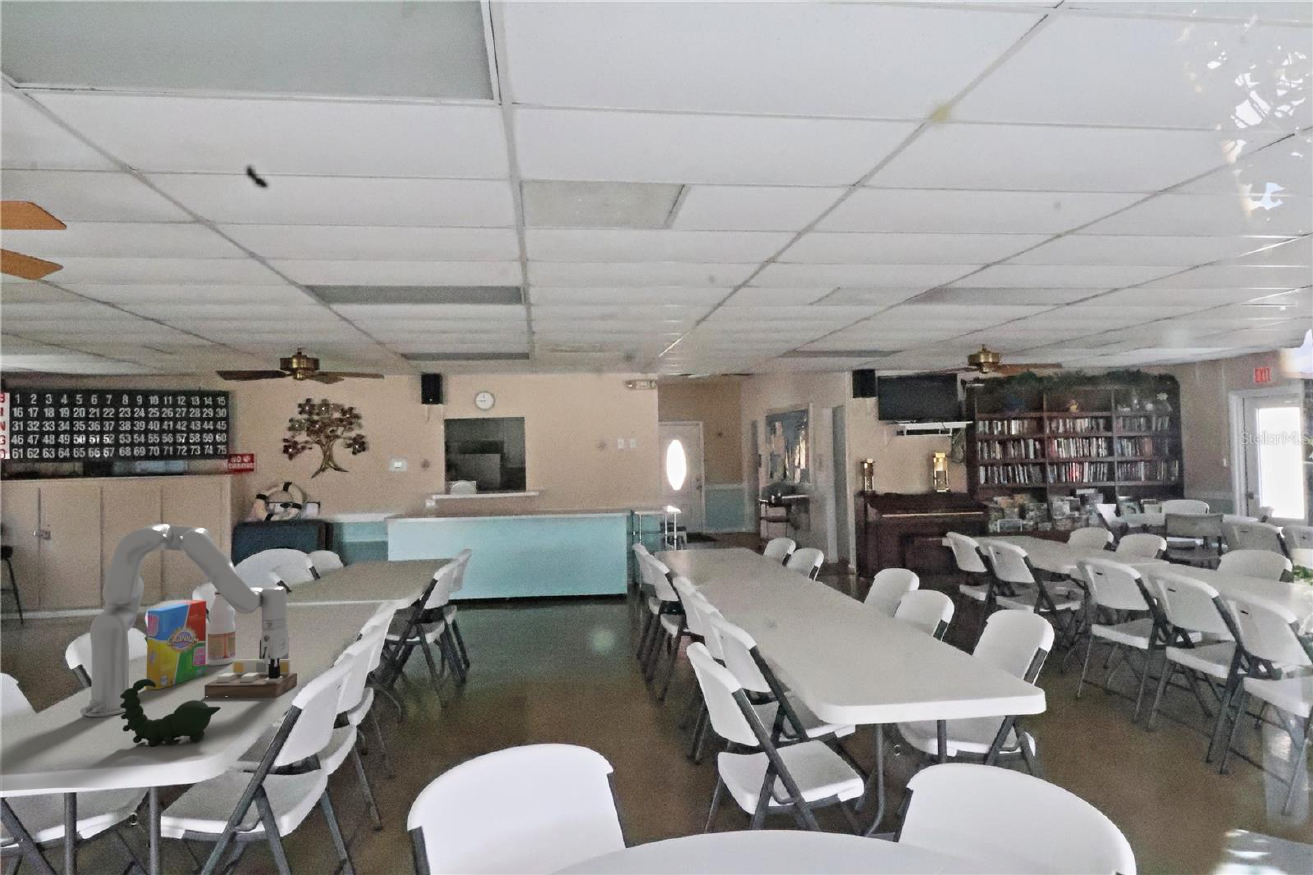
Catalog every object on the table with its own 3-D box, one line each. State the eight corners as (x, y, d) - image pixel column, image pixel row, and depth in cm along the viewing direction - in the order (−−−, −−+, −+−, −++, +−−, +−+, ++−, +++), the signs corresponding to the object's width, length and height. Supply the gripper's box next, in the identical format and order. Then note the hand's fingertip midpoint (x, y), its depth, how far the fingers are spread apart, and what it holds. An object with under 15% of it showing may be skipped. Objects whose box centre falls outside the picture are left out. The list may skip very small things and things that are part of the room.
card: (289, 674, 261) (289, 659, 261) (232, 674, 261) (232, 660, 262) (290, 673, 262) (290, 659, 262) (233, 674, 262) (233, 659, 262)
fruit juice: (209, 667, 287) (210, 593, 288) (205, 662, 294) (206, 590, 295) (237, 663, 293) (238, 590, 294) (232, 658, 300) (233, 588, 301)
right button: (276, 686, 253) (276, 679, 253) (264, 686, 253) (264, 679, 253) (282, 683, 257) (282, 676, 257) (270, 683, 257) (270, 676, 257)
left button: (229, 683, 253) (229, 676, 253) (217, 683, 253) (217, 676, 253) (236, 680, 257) (236, 673, 257) (224, 680, 257) (224, 673, 257)
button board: (275, 697, 248) (275, 684, 249) (204, 697, 249) (204, 685, 249) (297, 684, 262) (297, 673, 263) (229, 685, 263) (229, 673, 263)
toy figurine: (117, 757, 203) (215, 743, 205) (111, 687, 203) (208, 674, 206) (137, 744, 212) (230, 731, 215) (131, 677, 212) (224, 665, 215)
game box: (158, 690, 258) (159, 610, 259) (145, 689, 259) (146, 610, 260) (206, 673, 278) (206, 600, 279) (193, 673, 279) (194, 599, 280)
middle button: (252, 683, 253) (252, 676, 253) (241, 683, 253) (241, 676, 253) (259, 679, 257) (259, 672, 257) (247, 680, 257) (247, 672, 257)
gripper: (273, 628, 248) (273, 684, 247) (296, 618, 263) (296, 671, 262) (251, 628, 248) (251, 684, 247) (274, 619, 263) (275, 672, 262)
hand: (274, 677), depth 255 cm, fingers closed
